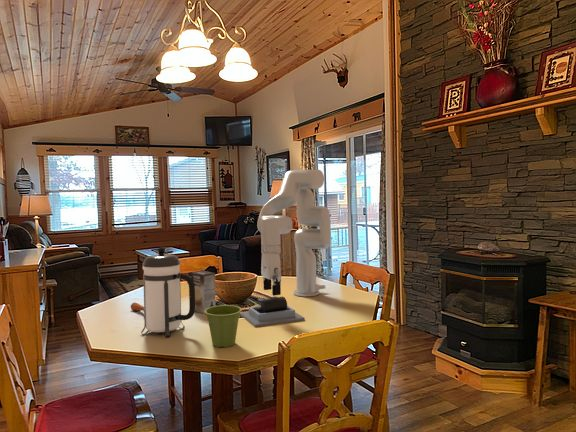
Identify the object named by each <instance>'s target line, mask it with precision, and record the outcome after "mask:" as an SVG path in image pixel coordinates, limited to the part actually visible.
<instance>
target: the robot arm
mask: <svg viewBox="0 0 576 432" xmlns="http://www.w3.org/2000/svg"><path fill="white" fill-rule="evenodd" d="M324 183H325V175H324V172H323V171H322V170H320V169H292V170H288V171H286V172H285V174H284V175H283V178H282V181H281V184H280V186H279V189H278V193H277V194H276V195H275V196H274V197H272V198H271V199H269V200H268V201H267V202H266V203H264V205H263V206H262V208H261V210H260V211H259V216H258V218H257V224H256V226H257V230H258V231H259V232H260V240H261V241H260V245H261V246H260V247H261V251H260V252H261V259H260V260H261V262H260V263H261V264H260V265H261V267H260V269H261V270H260V273H261V277H262V280H263V291H271V290H272V291H271V292H272V297H274V296H281V293H282V290H281V285H282V283H281V282H282V269H281V256H280V253H281V250H282V249H281V247H282V246H281V245H282V243H281V235H287V234H289V233H290V232H291V231H292V230H293V225H294V224H293V219H292V218H291V217H290V216H288V215H275V214H276V213H278V212H280V211H283V210H286V209H288V208H291V207H292V206H294V205H295V204H296V221H297V223H298V225H300V226H304V227H318V228H300V229H298V230H296V231H295V233H294V235H293V240H294V245H295V247H294V248H295V253H296V254H295V259H296V260H295V262H296V267H295V268H296V270H295V271H296V289H294V290H293V292H292V293H293V295H294V296H297V297H307V298H308V297H315V296H318V295H320V290H325V289H326V284H318V283H317V256H316V255H315V253H314V251H313V250H326V249H327V250H328V248H329V247H330V246H331V235H332V234H331V213H330V209H328V207H327V206H323V205H316V204H315V195H314V193H313V191H312V190H316V189H321V188H322V187H323V186H324Z"/></svg>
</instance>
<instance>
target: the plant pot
mask: <svg viewBox="0 0 576 432" xmlns="http://www.w3.org/2000/svg"><path fill="white" fill-rule="evenodd" d="M242 311H243V309H242V307H240V306H238V305H233V304H232V305H231V304H230V305H229V304H226V305H225V304H221V305H215V306H213V307H210V308H207V309H206V310H205V314H206V319H207V321H208V327H209V331H210V337H211V338H210V339H211V343H212V344H211V345H212V346H214V347H216V348H222V347H224V348H229V347H232V346H234V345H235V343H236V341H237V340H236V339H237V332H238V325H239V320H240V316H241V315H240V312H242Z"/></svg>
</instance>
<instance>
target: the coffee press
mask: <svg viewBox="0 0 576 432" xmlns="http://www.w3.org/2000/svg"><path fill="white" fill-rule="evenodd" d="M157 252H158V254H152V255H149V256H146V257H145V259H144V260H143V262H142V271H143V275H142V277H143V307H144V310H143V314H144V319H143V320H144V323H143V324H144V326H143V328H142V330H141V331H140V332H141V336H146V335H147V334H148V333H149V332H151V333H164V337H165V338H170V337H171V331H175V330H176V329H180V330H185V327H186V326H185V325H184V324H183V322H182V321H186V320H189V319H191V318H193V317H194V315H195V312H196V311H195V286H194V282H193V280H192V278H191V275H189V274H187V273H181V270H180V268H181V267H180V266H181V260H180V258H179V257H178V256H177V255H175V254H171V253H165V252H166V249H165V248H164V247H161V246H160V247H159V248H158V249H157ZM181 280H184V281H185V282H187V285H188V297H189V299H188V300H189V302H188V303H189V308H188V309H189V311H188V313H187V314H182V299H181V298H182V296H181V295H182V294H181ZM181 325H182V326H183V327H180V326H181ZM145 329H146V332H145ZM143 332H145V333H143Z"/></svg>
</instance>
